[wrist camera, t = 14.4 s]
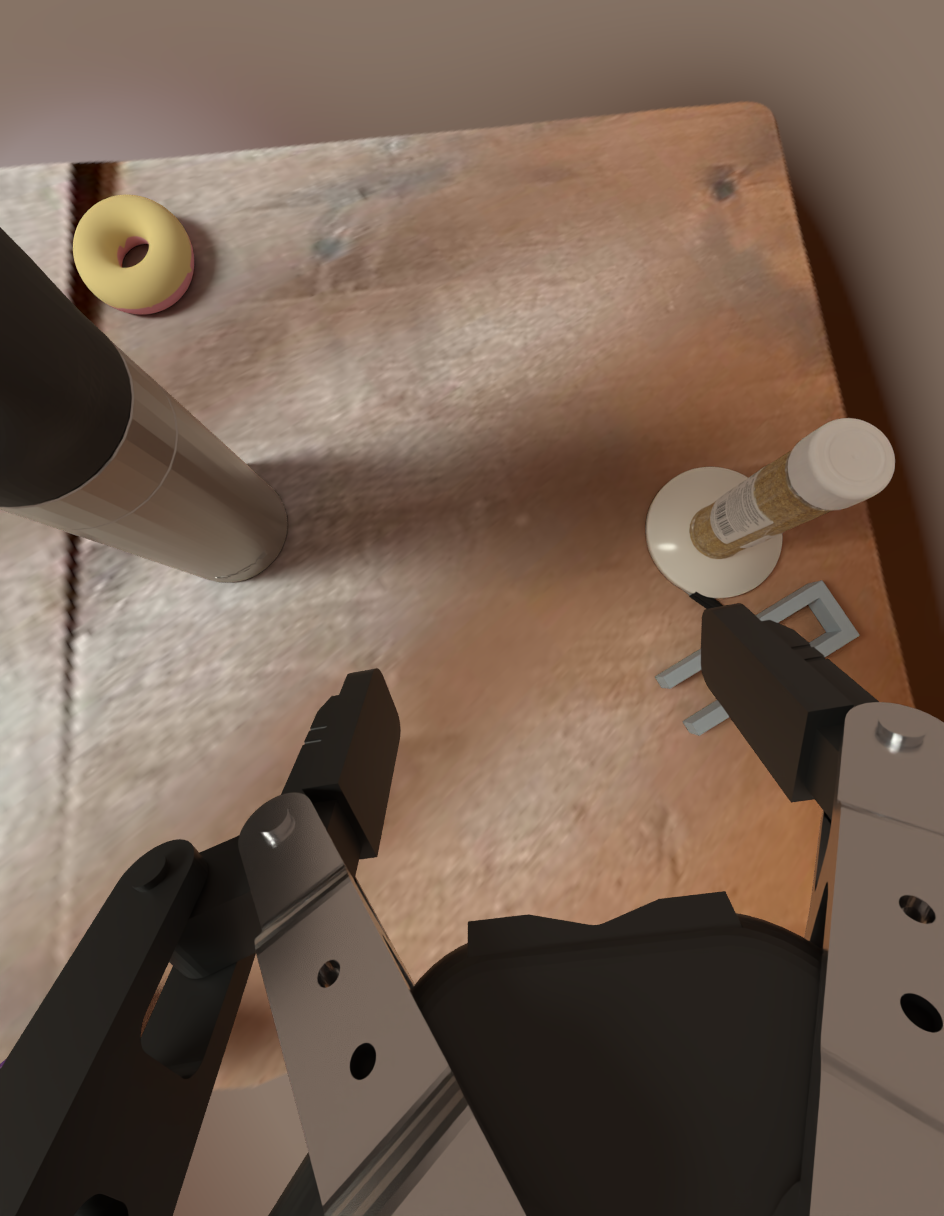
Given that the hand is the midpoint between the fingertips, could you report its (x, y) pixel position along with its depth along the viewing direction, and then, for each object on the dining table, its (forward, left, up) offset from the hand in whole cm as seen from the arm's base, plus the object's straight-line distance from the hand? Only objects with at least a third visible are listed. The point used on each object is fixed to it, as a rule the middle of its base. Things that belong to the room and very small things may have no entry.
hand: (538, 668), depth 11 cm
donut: (-45, -9, -25) cm, 52 cm away
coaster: (0, +21, -24) cm, 33 cm away
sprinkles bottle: (0, +21, -24) cm, 32 cm away
